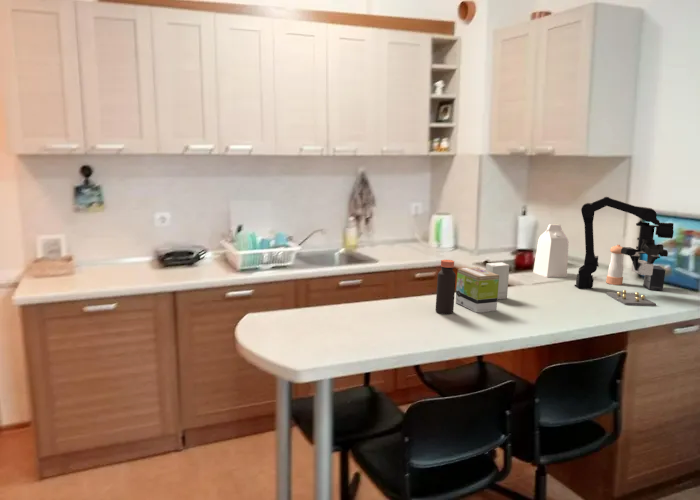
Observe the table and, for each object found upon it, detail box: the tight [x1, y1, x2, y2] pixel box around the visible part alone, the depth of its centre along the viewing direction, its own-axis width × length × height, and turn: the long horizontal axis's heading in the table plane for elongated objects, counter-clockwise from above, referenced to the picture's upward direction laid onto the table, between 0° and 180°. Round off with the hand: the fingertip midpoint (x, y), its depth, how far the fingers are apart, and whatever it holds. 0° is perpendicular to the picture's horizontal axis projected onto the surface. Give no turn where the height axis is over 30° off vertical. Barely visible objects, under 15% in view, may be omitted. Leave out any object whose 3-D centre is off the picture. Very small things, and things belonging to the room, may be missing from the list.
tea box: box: [455, 266, 499, 313], centre depth 235 cm, size 15×10×15 cm
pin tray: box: [606, 289, 657, 307], centre depth 257 cm, size 13×18×3 cm
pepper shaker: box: [605, 244, 625, 286], centre depth 289 cm, size 7×7×19 cm
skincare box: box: [485, 261, 510, 300], centre depth 251 cm, size 8×6×15 cm
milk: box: [532, 223, 569, 278], centre depth 304 cm, size 12×12×26 cm
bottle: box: [435, 259, 457, 315], centre depth 226 cm, size 7×7×20 cm
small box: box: [642, 265, 666, 292], centre depth 282 cm, size 11×6×10 cm, turn 168°
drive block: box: [631, 259, 654, 276], centre depth 267 cm, size 5×9×5 cm, turn 179°
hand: (641, 270), depth 267 cm, fingers closed on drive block, 5 cm apart
